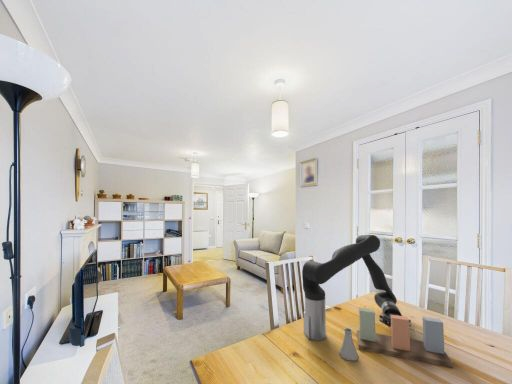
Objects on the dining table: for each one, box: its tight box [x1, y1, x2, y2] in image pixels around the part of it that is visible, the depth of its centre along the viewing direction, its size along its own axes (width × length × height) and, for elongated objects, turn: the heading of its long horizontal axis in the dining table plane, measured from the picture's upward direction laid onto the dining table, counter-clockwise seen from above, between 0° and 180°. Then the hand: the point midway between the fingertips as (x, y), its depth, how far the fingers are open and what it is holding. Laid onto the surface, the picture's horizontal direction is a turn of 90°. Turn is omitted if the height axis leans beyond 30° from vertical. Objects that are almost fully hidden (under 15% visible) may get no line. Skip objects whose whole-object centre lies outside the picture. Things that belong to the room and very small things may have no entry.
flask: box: [338, 327, 359, 362], centre depth 94 cm, size 7×7×10 cm
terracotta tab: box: [390, 315, 411, 351], centre depth 96 cm, size 6×3×12 cm, turn 70°
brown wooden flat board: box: [356, 329, 454, 369], centre depth 98 cm, size 32×12×2 cm, turn 70°
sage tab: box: [358, 307, 376, 342], centre depth 102 cm, size 6×3×12 cm, turn 70°
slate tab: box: [422, 316, 445, 354], centre depth 94 cm, size 6×3×12 cm, turn 70°
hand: (399, 330), depth 97 cm, fingers closed
